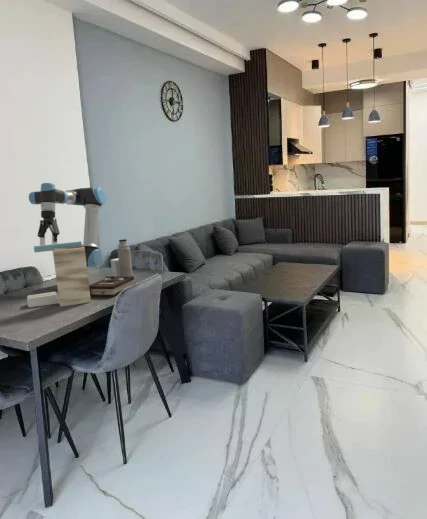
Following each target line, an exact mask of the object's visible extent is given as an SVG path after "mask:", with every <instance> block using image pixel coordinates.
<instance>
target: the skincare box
mask: <svg viewBox="0 0 427 519" xmlns="http://www.w3.org/2000/svg"><path fill="white" fill-rule="evenodd" d="M110 267H111V276H115V277H120V269H119V260H118V257H117V258H112V259H110Z"/></svg>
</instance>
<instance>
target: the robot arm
mask: <svg viewBox="0 0 427 519" xmlns="http://www.w3.org/2000/svg"><path fill="white" fill-rule="evenodd" d="M28 201H29V203H30V204H31V205H36V206H37V205H40V210H41V211H40V217H41V218H42V219H40V220H39V227H38V232H37V237H38V238H39V246H41V245H46V233H47V231H48V229H49V230H50V232H51V244H58V235H60V229H59V226H58V221H57V218H56V204H60V205H64V204H66V205H68V206H72V205H74V206H83V208H84V209H85V215H84V226H83V227H84V228H83V229H84V230H83V239H82V240H83V242H82V245H83V247H84V248H85V255H86V264H87V269H88V268H90V269H91V268H97V267H98V266H100V264H101V263H102V259H103V255H102V251H101V250H100V247H99V246H98V245H97V244H98V232H99V230H98V228H99V215H100V211H101V209H102V206H103V205H105V203H106V195H105V192H104V190H103V189H102V188H101V187H97V186H93V187H80V188H74V189H67V190H65V191H63V190H60V189H57V188H56V185H55V183H51V182H43V183H41V184H40V190H39V191H38V190H37V191H31V192H30V193H29V194H28Z"/></svg>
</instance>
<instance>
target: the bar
mask: <svg viewBox="0 0 427 519" xmlns="http://www.w3.org/2000/svg"><path fill="white" fill-rule="evenodd" d="M82 245H83V242H82V241H81V240H80V241H72V242H71V241H70V242H62V243H57V244H52V243H51V244H45V245H41V246H40V245H35V246H34V245H33V250H34V253H42V252H53V250H54V249H55V248H64V247H73V246H82Z"/></svg>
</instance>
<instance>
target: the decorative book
mask: <svg viewBox="0 0 427 519" xmlns="http://www.w3.org/2000/svg"><path fill="white" fill-rule="evenodd" d="M104 277H105V278H104V279H100V280H98V281H96V282H94V283H91V284H89V289H90V298H115V297H117V295H118V294H119V293H120V292H121V291H122V290H123V289H124V288H126V287H128V286H131V285H134V280H135V276H134V275H133V276H130V277H128V276H123V277H115V276H112V275H111V276H107V275H105V276H104ZM118 296H119V295H118Z"/></svg>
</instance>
